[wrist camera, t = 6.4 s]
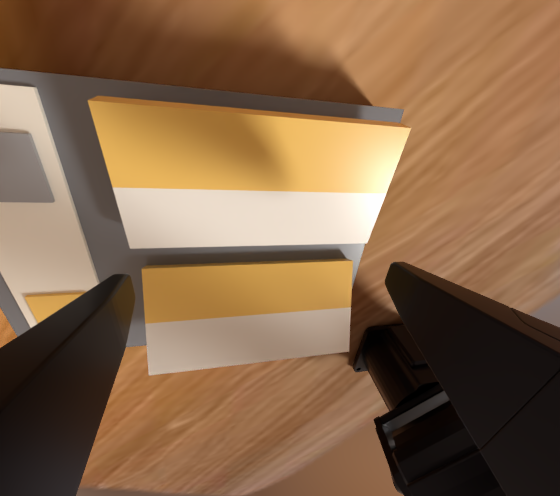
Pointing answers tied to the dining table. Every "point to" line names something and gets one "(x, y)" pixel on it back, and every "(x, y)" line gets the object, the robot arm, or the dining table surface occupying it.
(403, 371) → the robot arm
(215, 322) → the switch
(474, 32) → the dining table surface
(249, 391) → the dining table surface
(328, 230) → the switch
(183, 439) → the dining table surface
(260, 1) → the dining table surface
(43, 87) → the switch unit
